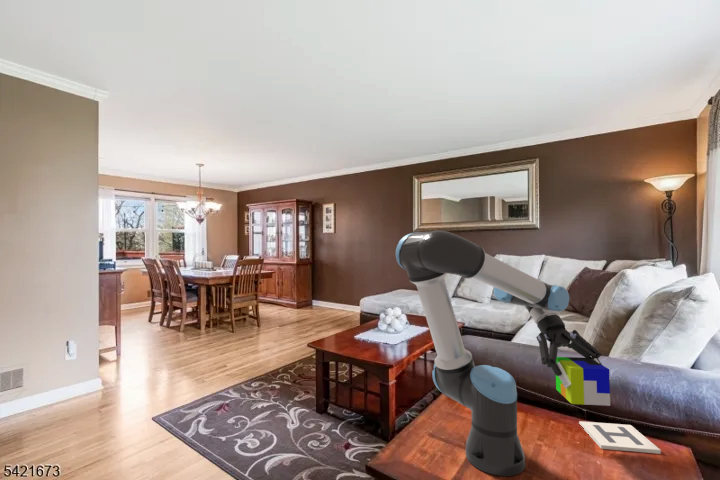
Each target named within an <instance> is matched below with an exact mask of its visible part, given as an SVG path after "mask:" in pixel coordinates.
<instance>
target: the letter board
mask: <svg viewBox="0 0 720 480" xmlns="http://www.w3.org/2000/svg"><path fill="white" fill-rule="evenodd" d="M579 424H580V425H581V426H582V427H583V428H584V429H583V428H582V427H581V426H580V425H579ZM578 425H579V426H580V427H581V428H582V429H583V430H584V432H586V434H589V435H588V436H589V437H590V438H591V439H592V440H593V441H594V442H595V444H597V446H598V447H599V448H600V449H601V450H611V451H623V452H635V453H647V454H648V453H649V454H657V455H658V454H659V455H662V450H661V448H659V447H658V446H657V445H656V444H654V443H653V442H651V440H649V439H648V438H647V437H646V436H644V435H643V434H642V433H641V432H639V430H637V429H636V427H634V426H633V425H631V424H621V423H610V422H608V423H607V422H595V421H584V420H583V421H582V420H581V421H578Z"/></svg>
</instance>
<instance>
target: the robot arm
mask: <svg viewBox="0 0 720 480" xmlns="http://www.w3.org/2000/svg"><path fill="white" fill-rule="evenodd" d="M395 259H396V263H397V264H398V266H399V267H400V268H402V269H403V270H405V271H406V273H407V276H408V280H409V282H410V283H411V284H414V285H415V286H416V288H417V292H418V296H419V299H420V302H421V305H422V309H423V312H424V315H425V318H426V323H427V325H428V329H429V331H430V332H429V333H430V336H431V340H432V342H433V345H434V348H435V352H436V357H434V358H435V359H434V364H433V370H432V373H431V374H432V381H433V383H434V385H435V387H436V389H437V390H438V391H440V392H441V393H442V394H443V395H444V396H445V397H447V398H449V399H452V400H453V401H455V402H457V403H458V404H460V405H462V406H463V407H465V408H467V409H469V411H470V412H471V427H470V430H469V433H468V436H467V439H466V442H465V457H466V459H467V461H468V462H469V463H470V464H471V465H472V466H473V467H475V468H476V469H478V470H480V471H482V472H484V473H486V474H491V475H494V476H499V477H500V476H501V477H511V476H516V475H517V476H518V475H519V474H520V473H523V472H524V470H525V468H526V456H525V452H524V449H523V446H522V444H521V441H520V437H519V435H518V391H517V383H516V380H515V378H514V377H513V376H512V375H511V374H510V372H508V371H506V370H505V369H502V368H500V367H497V366H491V365H489V364H488V365H487V364H480V365H475V362H474V361H475V360H474V359H473V358H474V357H473V355H472V353H471V351H470V350H469V349H466V348H465V345H464V341H463V338H462V335H461V331H460V328H459V324H458V321H457V318H456V314H455V311H454V307H453V304H452V301H451V297H450V294H449V291H448V287H447V284H446V283H447V282H446V280H445V276H446V275H447V274H450V275H456V276H459V277H462V278H463V279H472V278H473V279H476V280H478V281H480V282H482V283H484V284H486V285H489V286H491V287H493V295H494V297H495V299H496V300H497V301H499V302H502V303H504V304H510V305H517V306H524V307H525V308H526V310H527V312H528V313H529V314H530V316H531V318H532V320H533V322H534V323H535V324H536V326H537V328H538V330H539V331H540V333H539V334H537V336H536V337H535V339H536V340H537V342H538V345H539V353H540V358H541V363H542V365H543V366H547V368H551V369H552V372H554V374H555V377H556V376H558V377H559V378H560V380H561V382H562V383H563V385H564V387H565V388H568V387H569V386H570V385H571V382H570V380H569V377H568V375H567V373H566V372H565V370H564V369H563V367H562V365H561V364H560V362H557V363H556V360H557V357H558V350H559V348H561V347H563V348H565V347H566V348H568V349H572V350H573V351H575V352H576V353H577V354H579V355H581V357H582V356H583V358H591V359H593V360H595V361H596V362H598V363H600V364H601V365H603V363H602V362H601V361H600V360H599V359H600V358H601V357H602V352H600V351H599V350H598V349H596V348H595V347H594V346H593V345H592V344H590V342H588V341H587V340H586V339H585V338H584V337H582V336H581V335H580V334H579V332H578V331H577V330H575V329H573V330H572V331H568V330H567V329H566V324H565V322H564V320H562V318H561V317H560V315H558V312H563V311H564V310H566V309H567V308H568V306H569V303H570V294H569V292H568V290H567V288H565V287H564V286H559V285H557V284H552V285H551V284H548V283H546V282H544V281H542V280H539V279H537V278H535V277H534V276H533V275H530V274H528V273H526V272H524V271H522V270H520V269H518V268H516V267H514V266H512V265H510V264H508V263H506V262H504V261H502V260H500V259H498V258H496V257H494V256H492V255H491V254H488V253H486V252H485V249H484V248H483V246H481V245H478V244H476V242H475V243H474V242H472V241H470V240H469V239H466V238H464V237H462V236H459V235H458V234H456V233H453V232H451V231H450V232H449V231H445V230H440V229H437V230H433V231H415V232H411V233H408V234H406V235H404V236H403V237H402V238H400V240H399V241H398V243H397V245H396V249H395ZM548 342H549V347H548ZM609 380H612V379H611V377H610V376H609Z"/></svg>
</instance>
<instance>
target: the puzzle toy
mask: <svg viewBox="0 0 720 480" xmlns="http://www.w3.org/2000/svg"><path fill="white" fill-rule="evenodd" d="M557 362H560V364H561V365H562V367H563V369H564V370H565V372H566V373H567V375H568V377H569V380H570V382H571V385H570V386H569V387H568V388H565V387H564V385H563V383H562V382H561V380H560V378H559V377H558V376H556V375H555V386H556V387H555V389H556V391H557V392H558V393H559V394H560V395H561V396H562V397H564V398H565V399H566V401H568V402H569V403H570V404H571V405H584V406H585V405H586V406H589V405H590V406H608V407H609V406H611V385H610V382H611V381H610V380H609V377H610V369H609V368H607V366H604V365H603V364H602V363H601V364H602V365H601V364H600V363H598V362H596V361H595V360H593V359H591V358H585V357H576V356H575V357H573V356H570V357H569V356H557V360H556V363H557Z"/></svg>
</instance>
